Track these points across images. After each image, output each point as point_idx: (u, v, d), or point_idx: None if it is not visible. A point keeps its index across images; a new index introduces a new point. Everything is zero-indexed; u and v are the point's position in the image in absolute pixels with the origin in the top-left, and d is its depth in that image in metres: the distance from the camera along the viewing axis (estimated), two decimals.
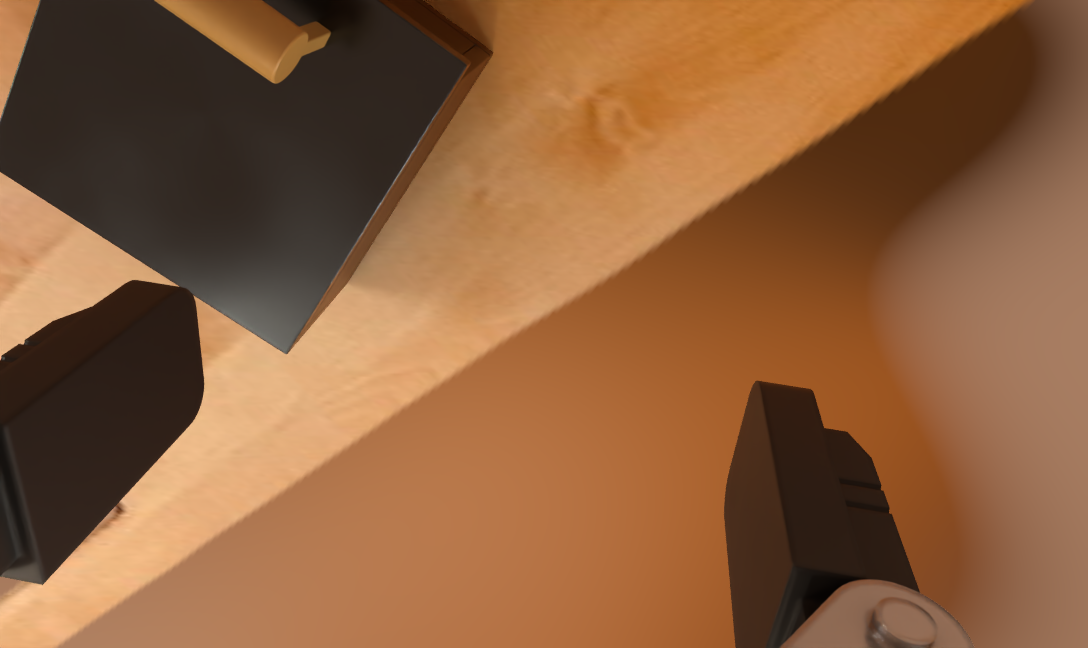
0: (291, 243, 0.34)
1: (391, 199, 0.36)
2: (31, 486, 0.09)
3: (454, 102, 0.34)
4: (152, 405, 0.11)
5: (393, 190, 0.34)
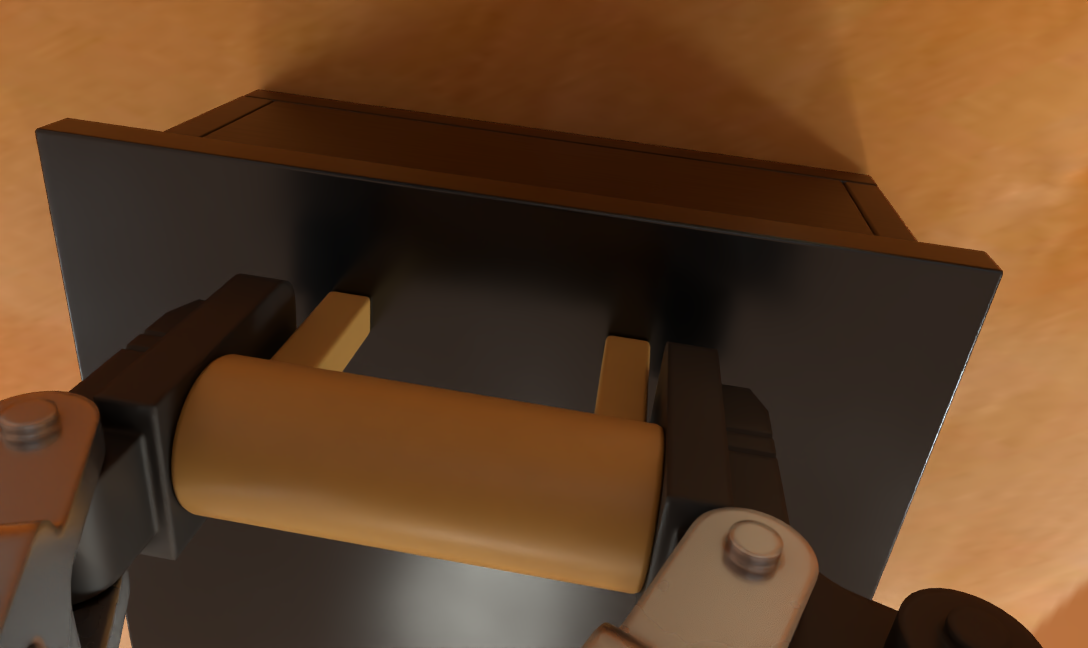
0: None
1: None
2: (170, 466, 0.09)
3: None
4: None
5: None
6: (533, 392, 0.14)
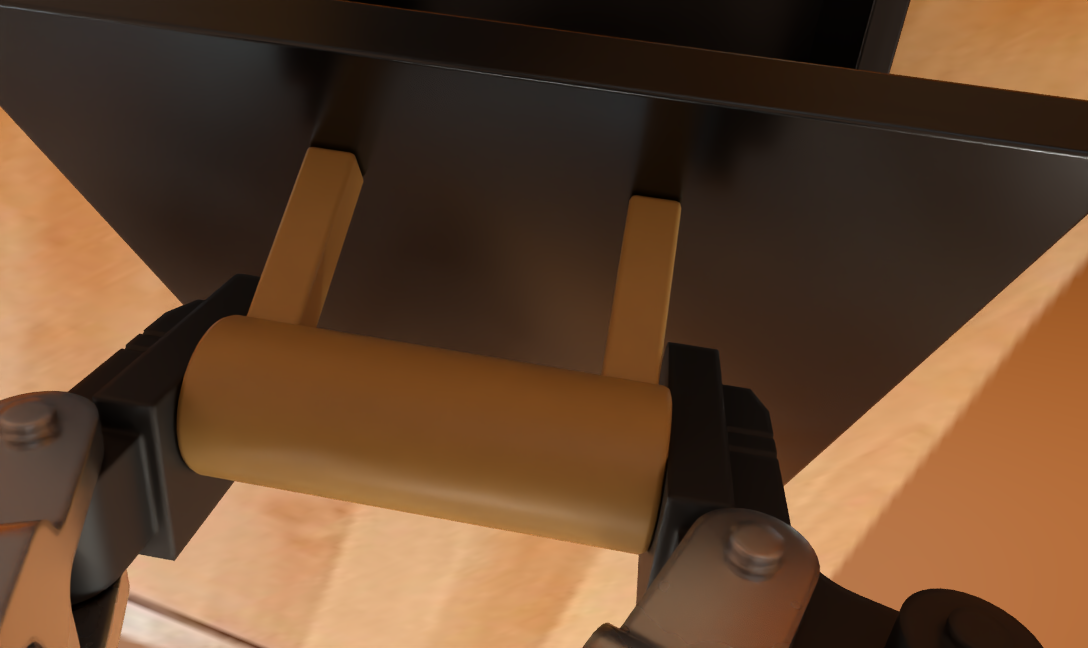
0: None
1: None
2: (170, 467, 0.09)
3: None
4: None
5: None
6: (552, 230, 0.12)
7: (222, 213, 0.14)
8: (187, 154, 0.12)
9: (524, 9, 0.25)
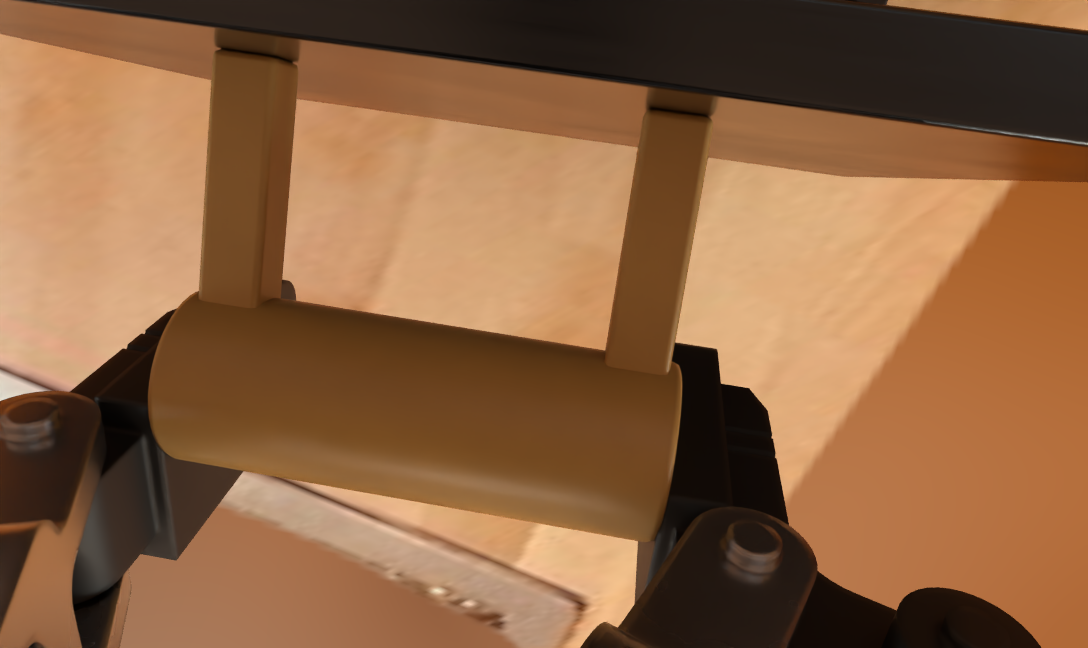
0: (796, 162, 0.16)
1: None
2: (172, 466, 0.09)
3: None
4: None
5: None
6: (552, 103, 0.09)
7: (148, 52, 0.11)
8: (71, 32, 0.09)
9: None
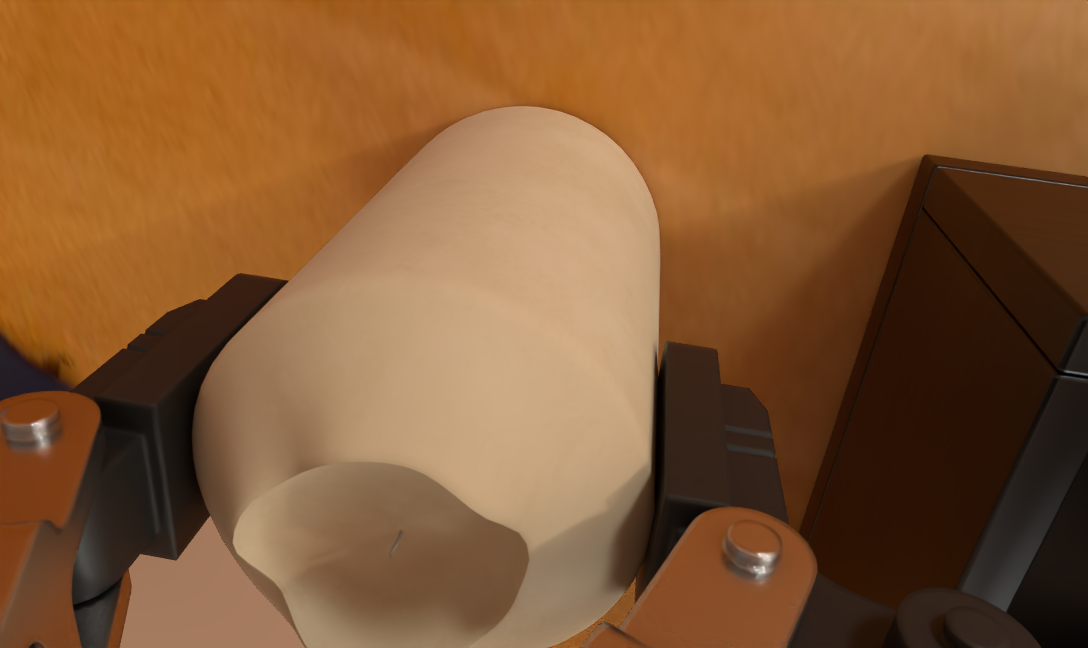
0: None
1: None
2: (172, 466, 0.09)
3: None
4: None
5: None
6: None
7: None
8: None
9: None
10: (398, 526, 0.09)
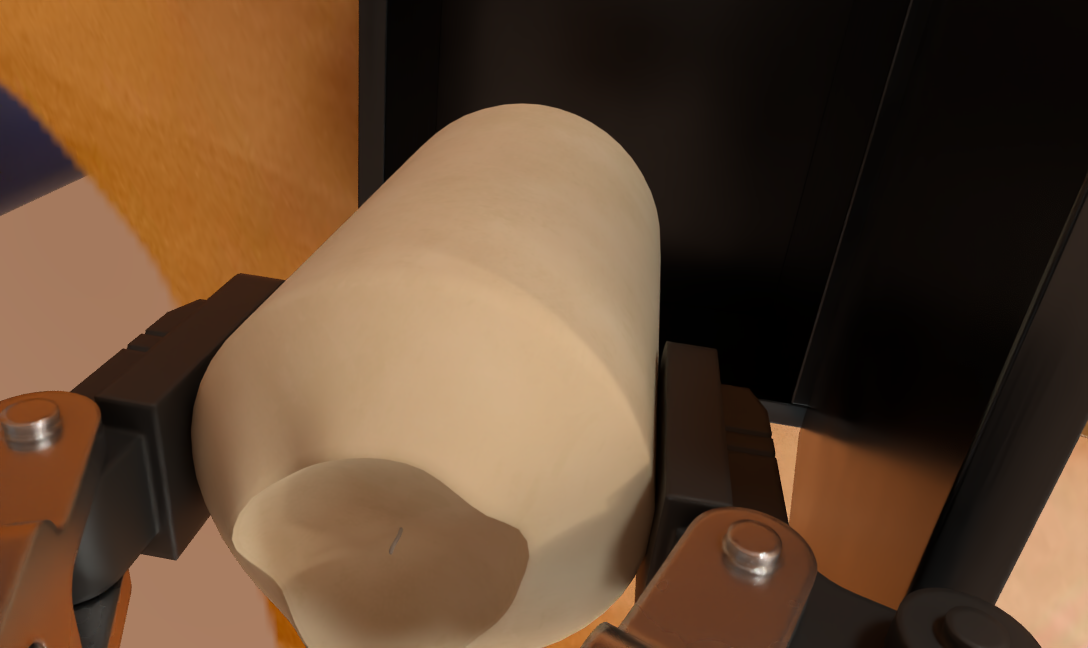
0: None
1: None
2: (171, 466, 0.09)
3: None
4: None
5: None
6: None
7: None
8: None
9: None
10: (398, 522, 0.09)
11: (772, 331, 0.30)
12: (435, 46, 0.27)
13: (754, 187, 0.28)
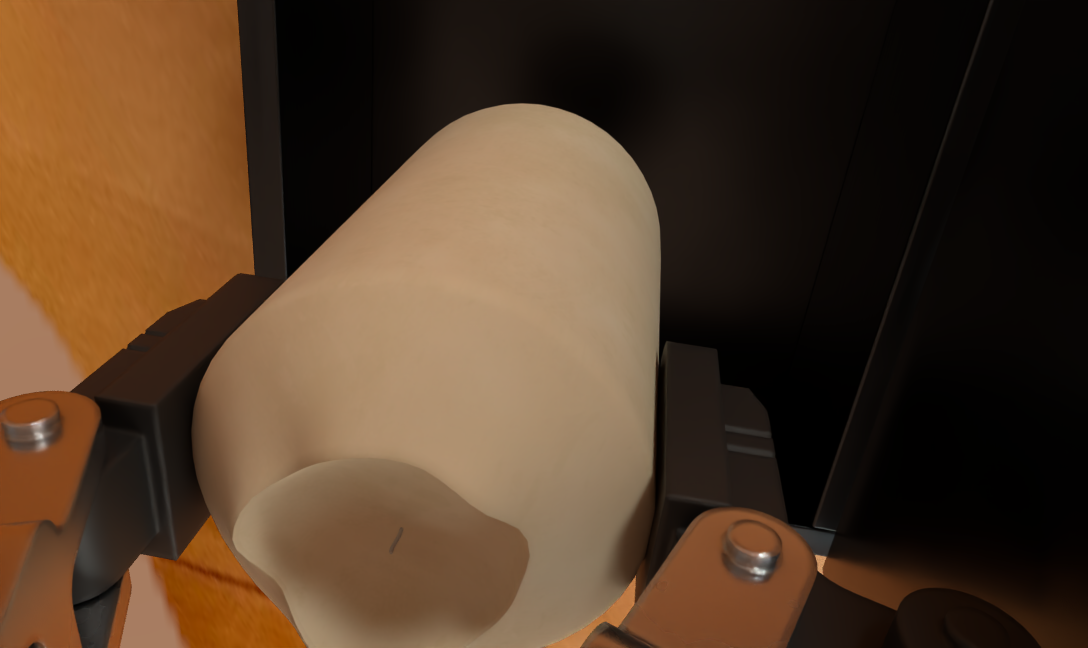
0: None
1: None
2: (172, 466, 0.09)
3: None
4: None
5: None
6: None
7: None
8: None
9: None
10: (398, 523, 0.09)
11: (786, 417, 0.24)
12: (366, 71, 0.22)
13: (763, 243, 0.23)
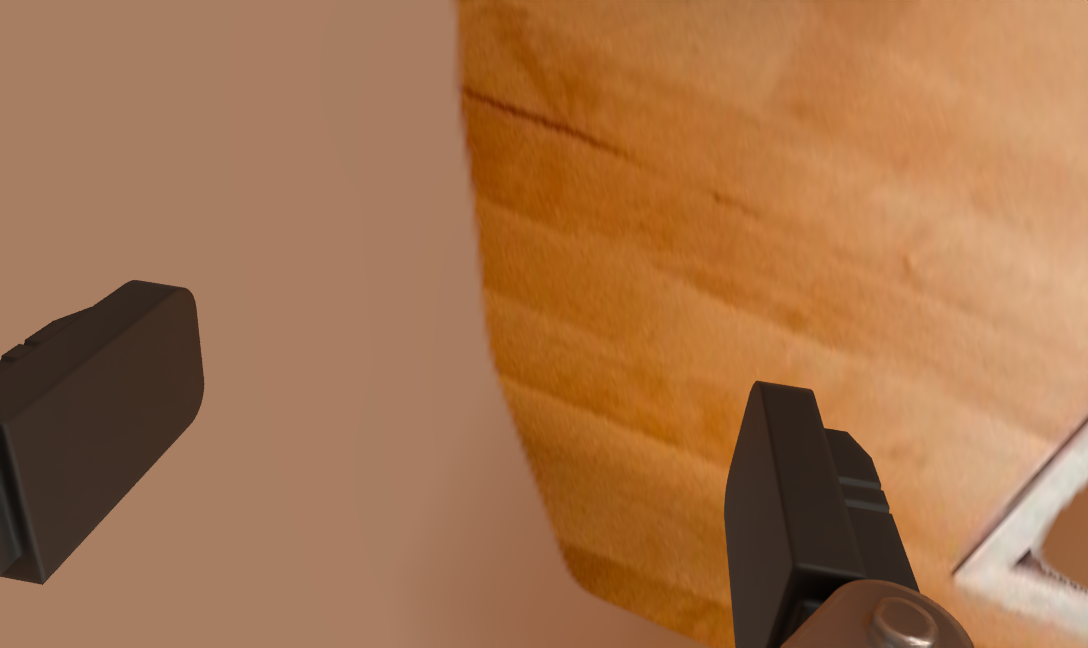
0: None
1: None
2: (31, 486, 0.09)
3: None
4: (152, 405, 0.11)
5: None
6: None
7: None
8: None
9: None
10: None
11: None
12: None
13: None
